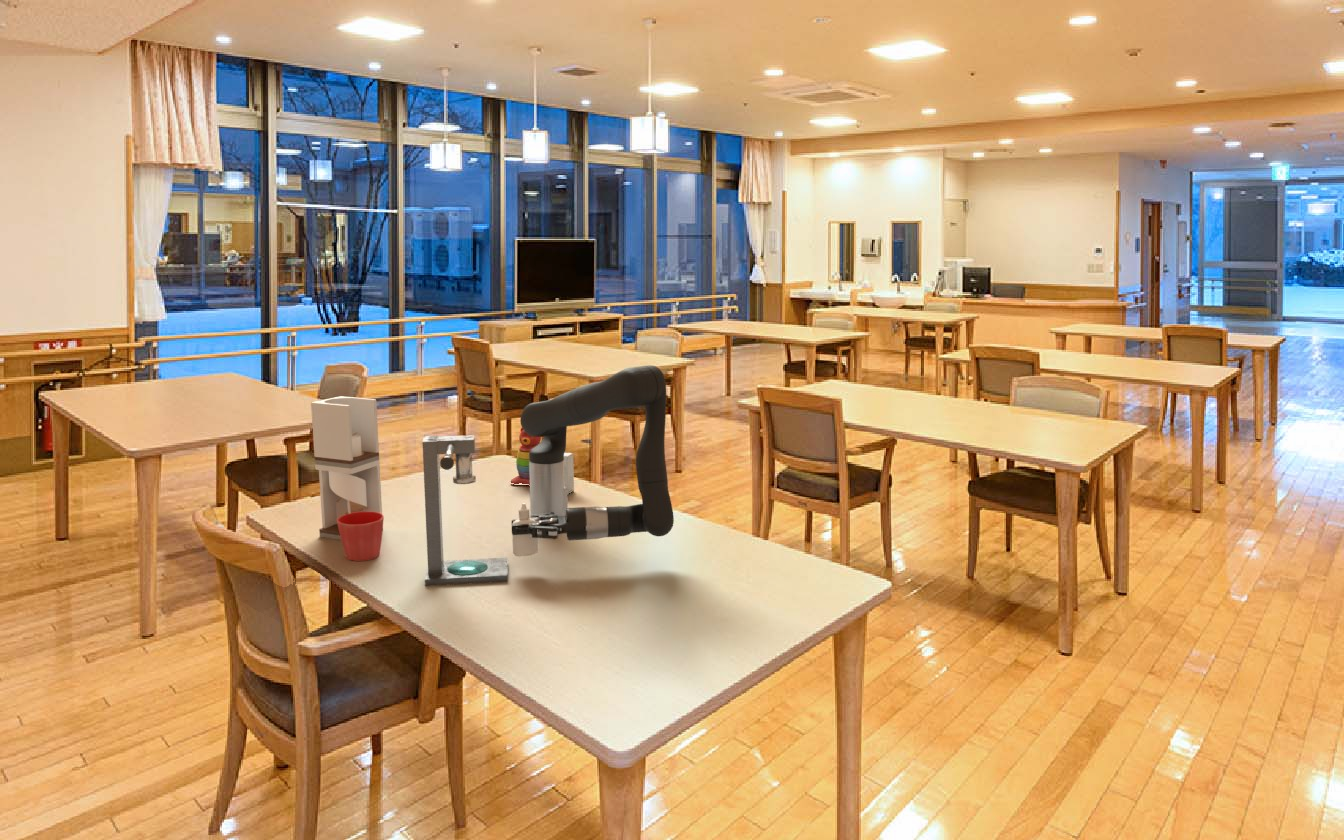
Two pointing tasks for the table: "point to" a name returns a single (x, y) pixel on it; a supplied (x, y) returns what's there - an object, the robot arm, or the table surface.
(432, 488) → the arbor press
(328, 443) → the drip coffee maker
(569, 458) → the skincare box
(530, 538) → the eye dropper bottle
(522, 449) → the stacking bear
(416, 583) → the table surface
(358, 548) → the flower pot
